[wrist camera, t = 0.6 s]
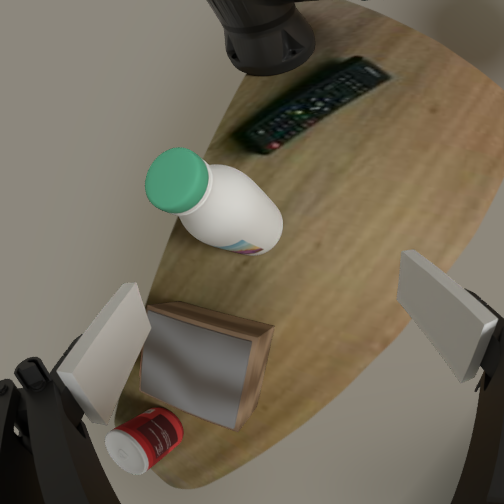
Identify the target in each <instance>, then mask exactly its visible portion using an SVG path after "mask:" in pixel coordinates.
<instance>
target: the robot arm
mask: <svg viewBox="0 0 504 504" xmlns="http://www.w3.org/2000/svg"><path fill="white" fill-rule="evenodd" d="M303 1H317V0H207V2H208V3H209V5H210V6H211V8H212V9H213V11H214V13H215V14H216V16H217V18H218V19H219V21H220V22H221V24H222V26H223V28H224V34H225V45H226V52H227V55H228V57H229V59H230V60H231V62H232V63H233V65H234V66H235V67H236V68H237V69H239V70H240V71H242V72H244V73H247V74H251V75H258V76H267V75H275V74H280V73H284V72H287V71H290V70H292V69H294V68H296V67H298V66H300V65H301V64H303V63H304V62H305V61H306V60H307V59H308V58H309V57H310V56H311V55H312V53H313V51H314V49H315V38H314V33H313V30H312V28H311V26H310V25H309V24H308V22H307V21H306V20H305V18H304V17H303V16H302V15H301V13H300V12H299V11H298V10H297V8H296V6H295V2H303ZM363 1H366V0H363ZM397 301H398V302H399V303H400V304H401V305H402V307H403V308H404V309H405V310H406V311H407V313H408V314H409V315H410V316H411V318H412V319H413V320H414V321H415V323H416V324H417V325H418V326H419V328H420V329H421V330H422V331H423V333H424V334H425V335H426V336H427V338H428V339H429V340H430V342H431V343H432V344H433V346H434V347H435V348H436V350H437V351H438V352H439V354H440V355H441V356H442V358H443V359H444V361H445V362H446V363H447V365H448V366H449V367H450V369H451V370H452V371H453V373H454V374H455V376H456V377H457V379H458V380H459V382H460V383H463V382H465V381H468V380H470V379H472V378H474V377H475V375H476V373H477V371H478V369H479V367H480V366H481V367H482V368H483V370H484V372H483V374H482V376H481V379H480V381H479V383H478V385H477V387H476V389H475V392H477V390H478V388H479V387H480V393H479V400H478V407H477V413H476V419H475V423H474V428H473V433H472V438H471V442H470V446H469V450H468V454H467V457H466V461H465V464H464V468H463V471H462V474H461V477H460V480H459V483H458V486H457V488H456V491H455V494H454V497H453V499H452V502H451V504H504V318H502V317H501V316H500V315H499V314H498V313H497V312H496V311H495V310H493V309H492V308H491V307H490V306H489V305H487V303H486V302H484V301H483V300H481V298H480V297H479V296H477V295H476V294H475V293H473V292H471V291H469V290H467V289H465V288H463V287H461V286H460V285H459V284H458V283H457V282H455V281H454V280H453V279H451V278H450V277H449V276H448V275H447V274H445V273H444V272H443V271H442V270H440V269H439V268H438V267H436V266H435V265H434V264H433V263H431V262H430V261H429V260H427V259H426V258H425V257H423V256H422V255H421V254H419V253H418V252H417V251H415V250H414V249H413V250H406V251H401V263H400V274H399V283H398V292H397ZM150 330H151V325H150V322H149V319H148V317H147V314H146V311H145V308H144V305H143V302H142V298H141V295H140V292H139V289H138V286H137V283H136V282H132V283H123V284H122V286H121V287H120V288H119V289H118V290H117V292H116V293H115V294H114V295H113V296H112V298H111V299H110V300H109V301H108V303H107V304H106V305H105V307H104V308H103V309H102V310H101V311H100V313H99V314H98V315H97V316H96V318H95V319H94V320H93V322H92V323H91V324H90V326H89V327H88V328H87V330H86V331H85V332H84V333H83V334H81V335H80V336H79V337H77V338H76V339H75V340H74V341H73V342H72V343H71V345H70V346H69V347H68V350H66V352H65V353H64V356H62V357H61V358H60V360H59V361H58V362H57V364H56V365H55V366H54V368H53V369H52V371H51V372H50V374H49V372H48V371H47V369H46V367H45V366H44V364H43V362H42V361H41V359H40V358H38V357H30V358H27V359H25V360H24V361H22V362H21V363H20V364H19V365H18V366H17V367H16V369H15V372H14V374H15V376H16V377H17V379H18V380H19V382H20V383H21V385H22V386H23V388H18V389H17V387H16V386H15V384H14V383H13V381H12V380H10V379H4V380H1V381H0V504H121V503H120V501H119V500H118V498H117V496H116V494H115V492H114V490H113V488H112V486H111V484H110V483H109V480H108V478H107V476H106V474H105V472H104V470H103V468H102V466H101V463H100V461H99V459H98V456H97V454H96V452H95V449H94V447H93V444H92V442H91V439H90V437H89V434H88V431H87V428H86V426H85V424H84V422H83V421H82V420H81V419H82V417H83V415H84V413H85V415H86V416H87V417H88V418H89V420H90V421H91V422H92V423H97V424H102V425H108V423H109V420H110V418H111V415H112V413H113V411H114V408H115V406H116V404H117V401H118V399H119V397H120V395H121V392H122V390H123V388H124V385H125V383H126V381H127V379H128V377H129V374H130V372H131V370H132V368H133V366H134V364H135V361H136V359H137V357H138V355H139V353H140V351H141V349H142V347H143V344H144V342H145V340H146V338H147V336H148V334H149V332H150ZM14 426H15V427H16V428H17V429H18V430H19V435H18V436H17V435H16V434H15V433H14Z"/></svg>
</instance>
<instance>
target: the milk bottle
mask: <svg viewBox="0 0 504 504" xmlns="http://www.w3.org/2000/svg"><path fill="white" fill-rule="evenodd" d="M145 190H146V195H147V197H148V199H149V201H150V202H151V203H152V204H153V205H154V206H155V207H157V208H158V209H160V210H162V211H165V212H168V213H171V214H173V215H178V216H179V218H180V220H181V222H182V224H183V225H184V227H185V228H186V229H187V231H188V232H189V233H190V234H191V235H193V236H194V237H195V238H196V239H198V240H200V241H202V242H203V243H206V244H208V245H211V246H214V247H217V248H221V249H225V250H228V251H232V252H236V253H240V254H244V255H252V256H253V255H260V254H263V253H265V252H267V251H269V250H270V249H272V248H273V247H274V246H275V245H276V243H277V242H278V240H279V239H280V236H281V234H282V229H283V220H282V216H281V213H280V211H279V209H278V208H277V207H276V205H275V204H274V203H273V202H272V201H271V199H270V198H269V197H268V196H267V195H266V194H265V193H264V192H263V191H262V190H261V189H260V188H259V187H258V186H257V185H256V184H255V183H254V182H253V181H252V180H251V179H250V178H249V177H248V176H247V175H245V174H244V173H242V172H241V171H239V170H237V169H235V168H232V167H229V166H225V165H208V164H207V163H206V162H205V161H204V160H203V159H201V158H200V157H199V156H198V155H197V154H196V153H194V152H193V151H191V150H189V149H186V148H179V147H178V148H172V149H169V150H167V151H165V152H163V153H162V154H161V155H159V156H158V157H157V158H156V160H154V162H153V163H152V165H151V166H150V168H149V170H148V173H147V176H146V180H145Z"/></svg>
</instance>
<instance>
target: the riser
mask: <svg viewBox="0 0 504 504" xmlns="http://www.w3.org/2000/svg"><path fill="white" fill-rule="evenodd" d="M146 314H147V317H148V319H149V322H150V325H151V330H150V332H149V334H148V336H147V338H146V340H145V342H144V344H143V347H142V352H141V363H140V386H139V391H140V392H142V393H144V394H146V395H148V396H150V397H152V398H154V399H157V400H159V401H161V402H163V403H165V404H167V405H169V406H172V407H174V408H176V409H178V410H181V411H183V412H185V413H188V414H190V415H193V416H195V417H198V418H200V419H203V420H205V421H208V422H210V423H213V424H216V425H219V426H221V427H224V428H227V429H230V430H233V431H236V432H239V430H240V429H241V428H242V426H243V425H244V424H245V422H246V421H247V420H248V418H249V417H250V415H251V414H252V413H253V411H254V410H255V409H256V407H257V404H258V400H259V395H260V391H261V387H262V382H263V378H264V373H265V369H266V364H267V360H268V355H269V350H270V346H271V341H272V336H273V331H274V327H275V326H273V325H269V324H264V323H260V322H256V321H252V320H248V319H244V318H240V317H236V316H232V315H228V314H224V313H220V312H216V311H213V310H209V309H205V308H202V307H198V306H195V305H191V304H188V303H184V302H181V301H178V302H169V303H160V304H152V305H147V312H146Z"/></svg>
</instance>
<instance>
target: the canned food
mask: <svg viewBox="0 0 504 504" xmlns="http://www.w3.org/2000/svg"><path fill="white" fill-rule="evenodd" d="M183 434H184V431H183V427H182V424H181V422H180V421H179V419H178V418H177V417H176V416H175V415H174V414H173V413H172V412H171V411H169V410H167V409H165V408H159V407H157V408H151V409H149V410H147V411H145V412H144V413H142V414H140V415H138V416H136V417H135V418H133V419H131V420H129V421H127V422H126V423H124V424H122V425H120V426H118V427H116V428H114V429H113V430H111V431H110V432H108V433H107V434H106V436H105V445H106V448H107V450H108V453H109V455H110V456H111V458H112V459H113V460H114V461H115V463H116V464H117V465H118V466H120V467H121V468H122V469H123V470H125V471H127V472H129V473H131V474H135V475H140V474H142V473H144V472H146V471H147V470H148V469H150V468H151V467H152V466H154V465H155V464H156V463H157V462H158V461H160V460H161V459H162V458H163V457H164V456H166V455H167V454H168V453H169V452H170V451H171V450H173V449H174V448H175V447H176V446H177V445H178V444H179V443H180V442H181V440H182V438H183Z"/></svg>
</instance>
